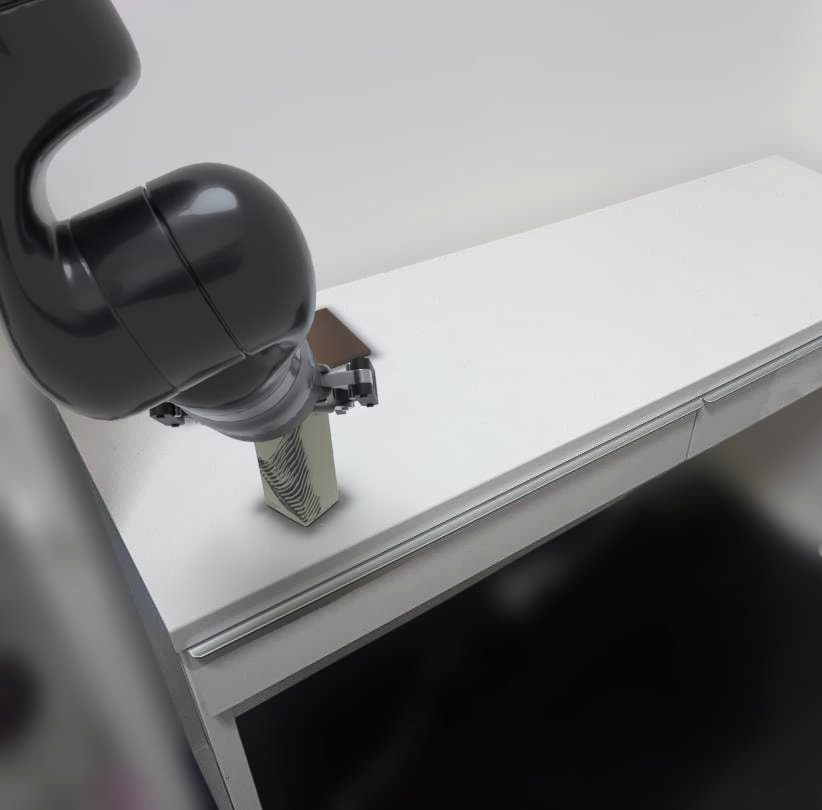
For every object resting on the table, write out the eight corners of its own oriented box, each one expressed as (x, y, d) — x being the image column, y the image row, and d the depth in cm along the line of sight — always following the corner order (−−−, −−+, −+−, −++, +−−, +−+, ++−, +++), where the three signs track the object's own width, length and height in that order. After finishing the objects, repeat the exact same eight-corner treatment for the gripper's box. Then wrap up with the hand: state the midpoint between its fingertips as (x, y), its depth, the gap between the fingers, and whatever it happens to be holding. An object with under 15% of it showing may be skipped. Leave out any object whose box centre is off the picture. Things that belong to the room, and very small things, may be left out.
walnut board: (190, 417, 80) (189, 413, 80) (155, 365, 87) (153, 360, 86) (371, 354, 90) (370, 349, 90) (326, 311, 97) (326, 307, 96)
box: (264, 505, 71) (236, 387, 63) (301, 477, 74) (279, 361, 66) (308, 530, 69) (286, 411, 61) (344, 500, 72) (327, 383, 64)
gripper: (366, 294, 47) (372, 350, 63) (103, 314, 44) (179, 367, 60) (380, 421, 46) (383, 445, 62) (113, 450, 44) (187, 467, 59)
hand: (282, 406), depth 61 cm, fingers open, 8 cm apart
